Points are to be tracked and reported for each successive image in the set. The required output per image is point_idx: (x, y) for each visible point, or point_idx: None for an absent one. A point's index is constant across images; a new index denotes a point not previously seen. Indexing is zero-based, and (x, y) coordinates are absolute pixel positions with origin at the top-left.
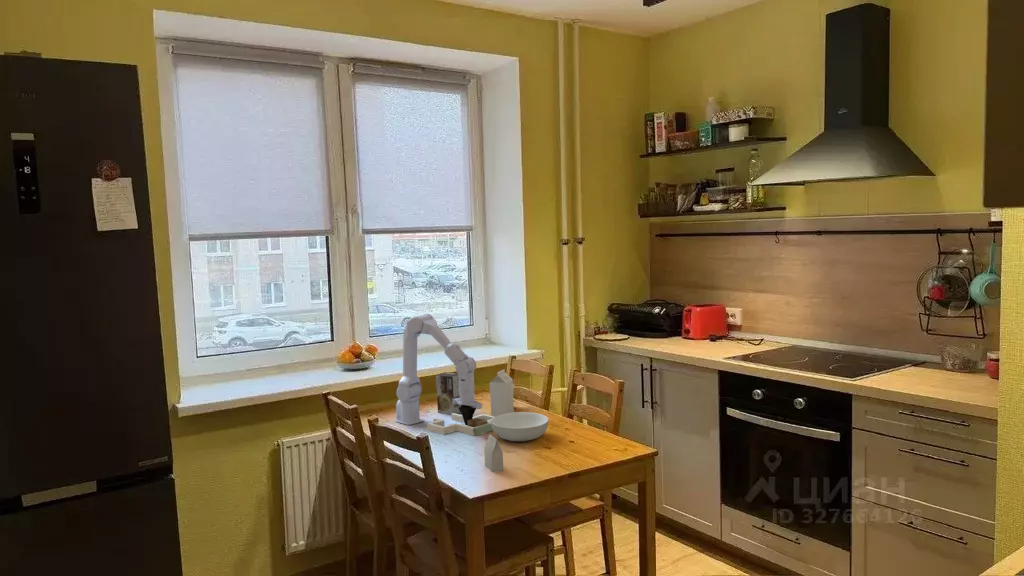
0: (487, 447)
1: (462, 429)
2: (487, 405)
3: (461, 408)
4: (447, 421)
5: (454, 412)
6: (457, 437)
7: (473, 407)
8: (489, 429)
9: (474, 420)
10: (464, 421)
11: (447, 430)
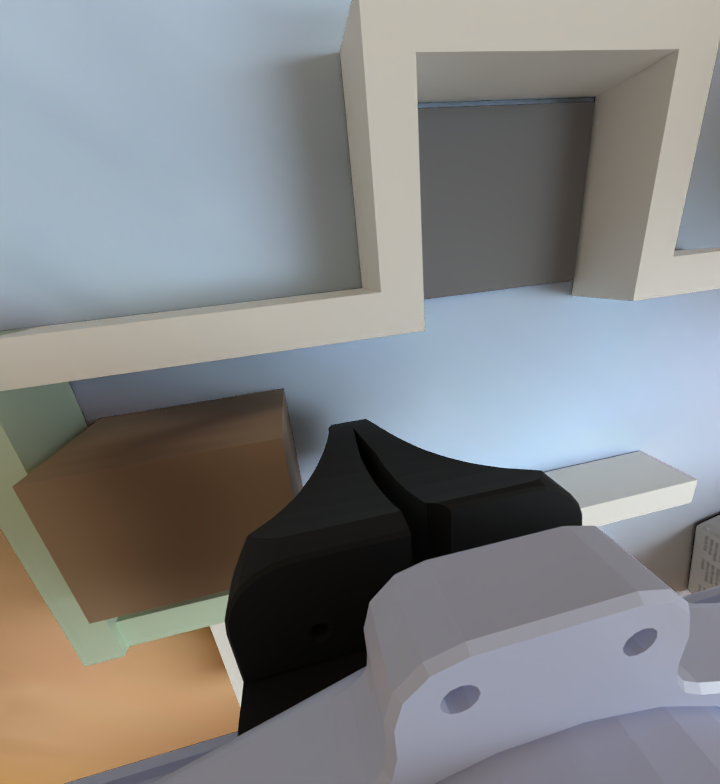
0: None
1: (246, 303)
2: None
3: (445, 510)
4: (643, 405)
5: (713, 536)
6: (64, 89)
7: (162, 757)
8: None
9: (204, 506)
10: (372, 428)
11: (353, 120)
